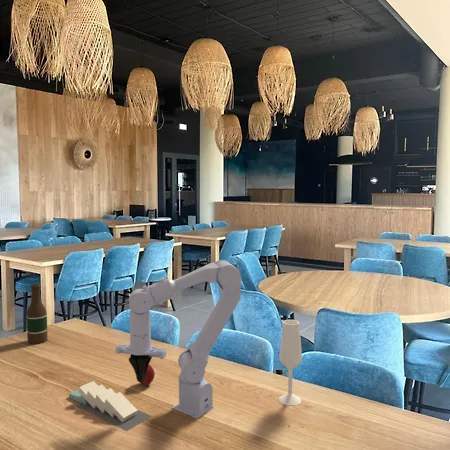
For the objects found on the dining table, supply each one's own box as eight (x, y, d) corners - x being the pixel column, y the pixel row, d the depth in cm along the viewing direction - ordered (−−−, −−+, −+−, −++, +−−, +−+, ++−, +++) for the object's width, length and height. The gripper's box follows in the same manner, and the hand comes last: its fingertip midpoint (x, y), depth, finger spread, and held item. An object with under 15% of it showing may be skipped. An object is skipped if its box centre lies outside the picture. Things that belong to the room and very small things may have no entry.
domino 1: (99, 392, 129) (83, 387, 134) (85, 399, 125) (69, 393, 130) (99, 397, 129) (83, 392, 134) (85, 404, 125) (69, 398, 130)
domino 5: (137, 410, 120) (119, 391, 124) (123, 417, 116) (105, 398, 120) (136, 414, 120) (118, 396, 124) (122, 422, 116) (104, 403, 120)
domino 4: (127, 405, 122) (110, 387, 126) (113, 413, 118) (96, 394, 122) (126, 410, 122) (109, 392, 126) (112, 417, 118) (95, 398, 122)
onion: (146, 380, 143) (146, 356, 142) (158, 385, 139) (158, 361, 138) (132, 386, 138) (132, 362, 137) (144, 391, 134) (144, 367, 134)
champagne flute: (274, 397, 131) (275, 320, 129) (293, 392, 134) (294, 317, 132) (286, 407, 125) (287, 326, 123) (305, 402, 128) (307, 324, 126)
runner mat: (151, 417, 119) (151, 416, 119) (126, 432, 112) (126, 430, 112) (101, 395, 132) (101, 393, 132) (75, 407, 125) (75, 405, 125)
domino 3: (118, 401, 124) (101, 384, 128) (104, 408, 120) (87, 390, 124) (117, 406, 125) (100, 388, 129) (103, 413, 121) (86, 394, 125)
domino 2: (109, 397, 127) (93, 380, 131) (95, 404, 123) (79, 387, 127) (108, 402, 127) (92, 385, 131) (94, 409, 123) (78, 391, 127)
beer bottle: (51, 340, 180) (49, 283, 178) (34, 345, 173) (32, 287, 171) (40, 336, 184) (38, 281, 182) (23, 342, 177) (21, 285, 175)
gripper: (170, 330, 121) (170, 377, 122) (124, 326, 125) (125, 371, 126) (159, 339, 114) (160, 388, 115) (111, 334, 118) (112, 381, 119)
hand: (141, 380), depth 120 cm, fingers closed
